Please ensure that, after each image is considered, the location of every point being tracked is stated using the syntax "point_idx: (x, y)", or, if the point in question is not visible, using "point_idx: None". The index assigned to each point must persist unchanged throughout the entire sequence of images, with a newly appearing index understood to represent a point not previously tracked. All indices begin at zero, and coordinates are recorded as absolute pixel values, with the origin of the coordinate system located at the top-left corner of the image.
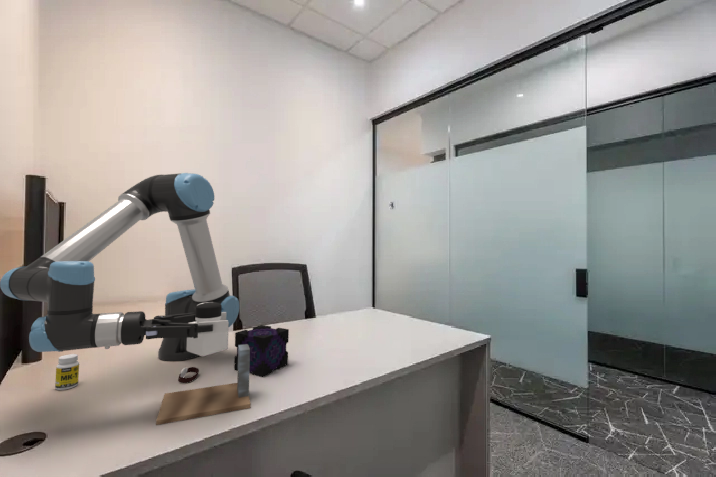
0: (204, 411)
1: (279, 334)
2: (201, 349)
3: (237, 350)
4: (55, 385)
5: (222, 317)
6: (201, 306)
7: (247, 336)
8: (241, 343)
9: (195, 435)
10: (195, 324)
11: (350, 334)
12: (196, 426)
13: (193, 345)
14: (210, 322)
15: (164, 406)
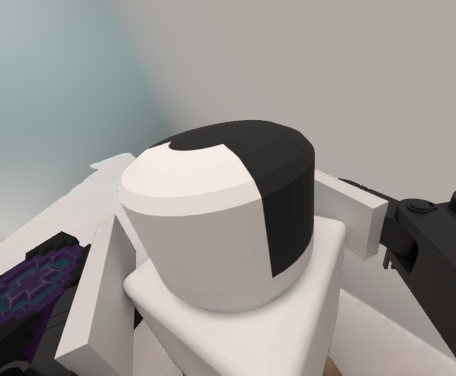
0: (336, 371)
1: (78, 242)
2: (338, 302)
3: None
4: None
5: (124, 243)
6: (302, 138)
7: (39, 313)
8: (25, 356)
9: (410, 351)
10: (423, 204)
11: (22, 229)
12: (382, 371)
13: (321, 366)
14: (333, 179)
15: None
